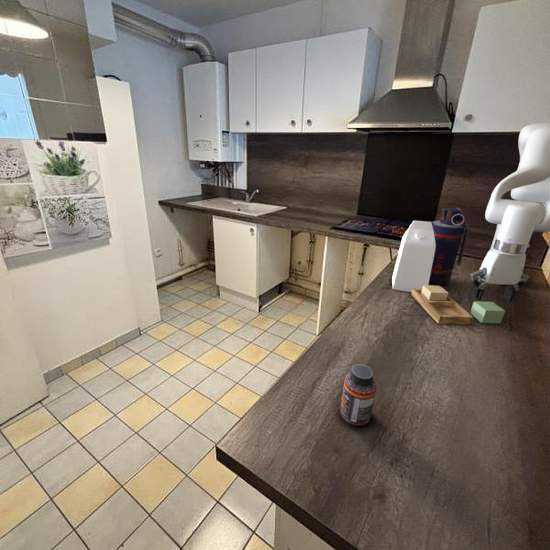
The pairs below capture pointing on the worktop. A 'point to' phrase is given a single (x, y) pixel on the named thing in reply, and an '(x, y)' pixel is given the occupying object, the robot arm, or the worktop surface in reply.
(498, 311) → the green block
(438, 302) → the divided wooden tray
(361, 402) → the supplement bottle
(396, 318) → the worktop surface
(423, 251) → the milk
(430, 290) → the tan block
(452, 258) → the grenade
